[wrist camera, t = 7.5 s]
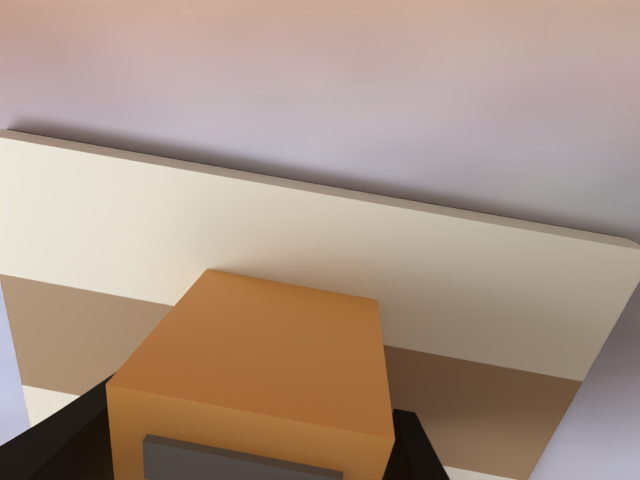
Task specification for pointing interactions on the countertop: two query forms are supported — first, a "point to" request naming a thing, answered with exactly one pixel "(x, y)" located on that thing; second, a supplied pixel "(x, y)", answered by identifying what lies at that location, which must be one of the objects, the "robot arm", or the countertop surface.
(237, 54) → the countertop surface
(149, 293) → the drywall panel
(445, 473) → the robot arm
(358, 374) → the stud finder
